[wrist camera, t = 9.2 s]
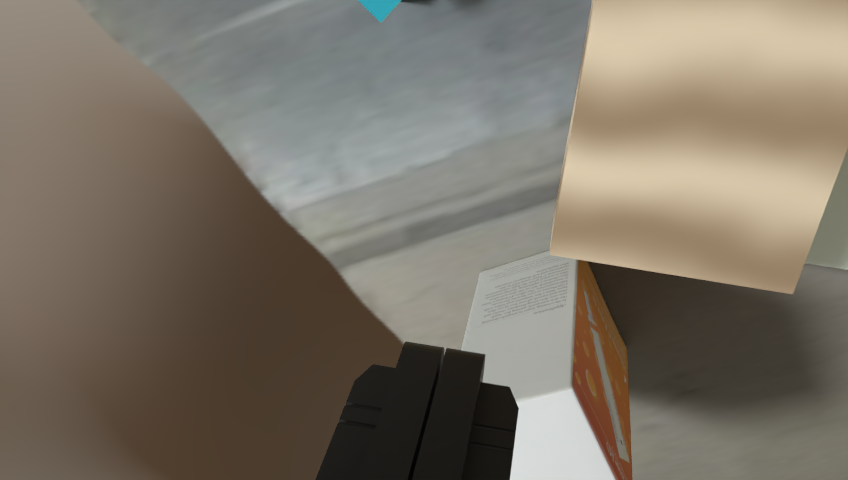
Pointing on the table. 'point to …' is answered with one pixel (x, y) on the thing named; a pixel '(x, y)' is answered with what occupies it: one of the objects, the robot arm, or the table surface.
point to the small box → (555, 367)
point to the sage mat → (833, 226)
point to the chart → (380, 7)
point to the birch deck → (705, 137)
